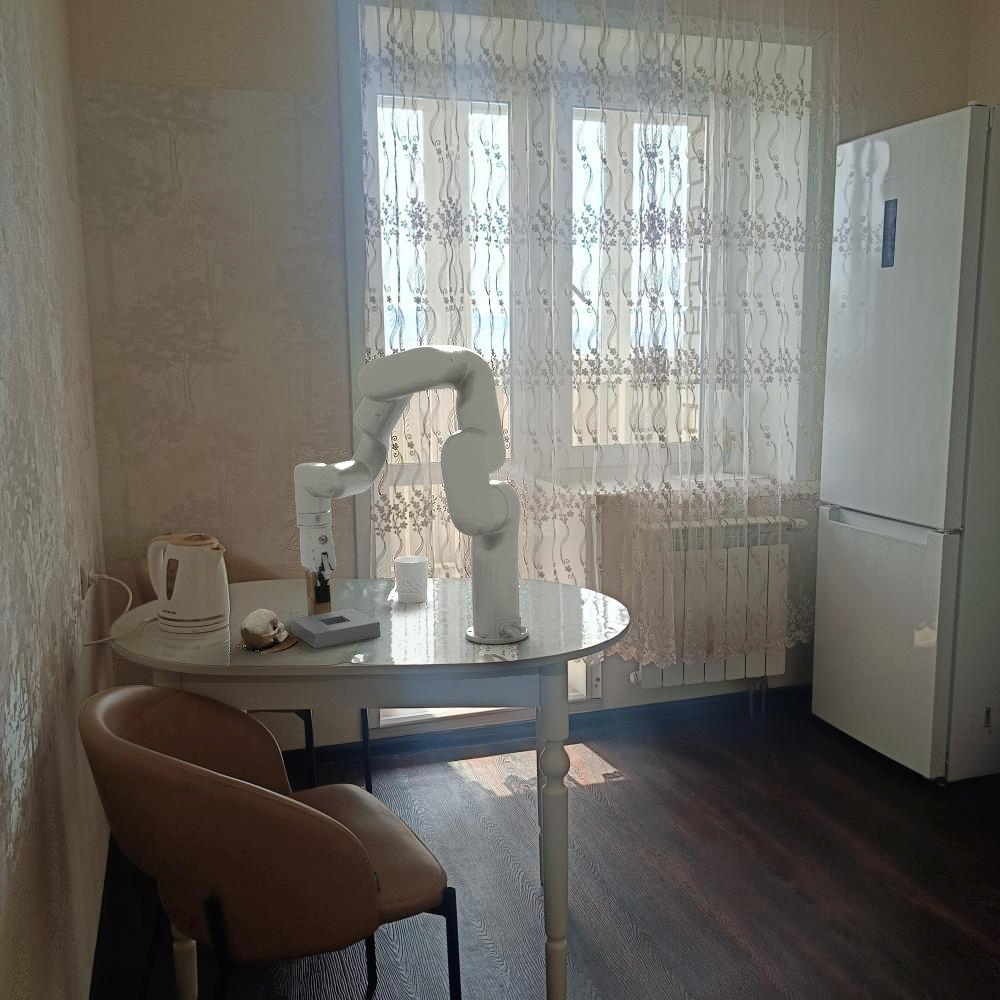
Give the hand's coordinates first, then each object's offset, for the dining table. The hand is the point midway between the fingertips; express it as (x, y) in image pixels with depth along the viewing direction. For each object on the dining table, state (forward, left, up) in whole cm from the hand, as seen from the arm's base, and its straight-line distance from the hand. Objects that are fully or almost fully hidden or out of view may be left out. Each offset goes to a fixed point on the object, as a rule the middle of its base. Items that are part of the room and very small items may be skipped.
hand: (319, 599), depth 202 cm
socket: (-14, +2, -4) cm, 15 cm away
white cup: (+2, -24, -5) cm, 25 cm away
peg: (0, 0, -4) cm, 4 cm away
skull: (-12, +16, -5) cm, 21 cm away
